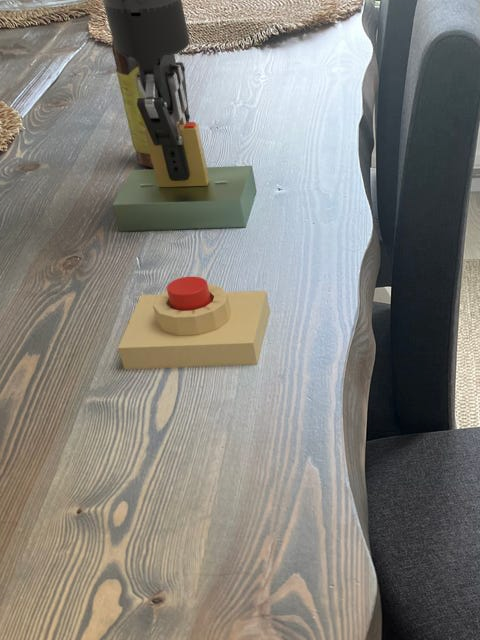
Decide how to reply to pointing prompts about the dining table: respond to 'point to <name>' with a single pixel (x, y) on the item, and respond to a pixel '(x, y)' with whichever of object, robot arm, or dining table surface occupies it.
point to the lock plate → (186, 201)
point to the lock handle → (192, 154)
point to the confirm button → (188, 293)
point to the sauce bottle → (132, 105)
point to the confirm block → (196, 331)
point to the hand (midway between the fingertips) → (182, 174)
